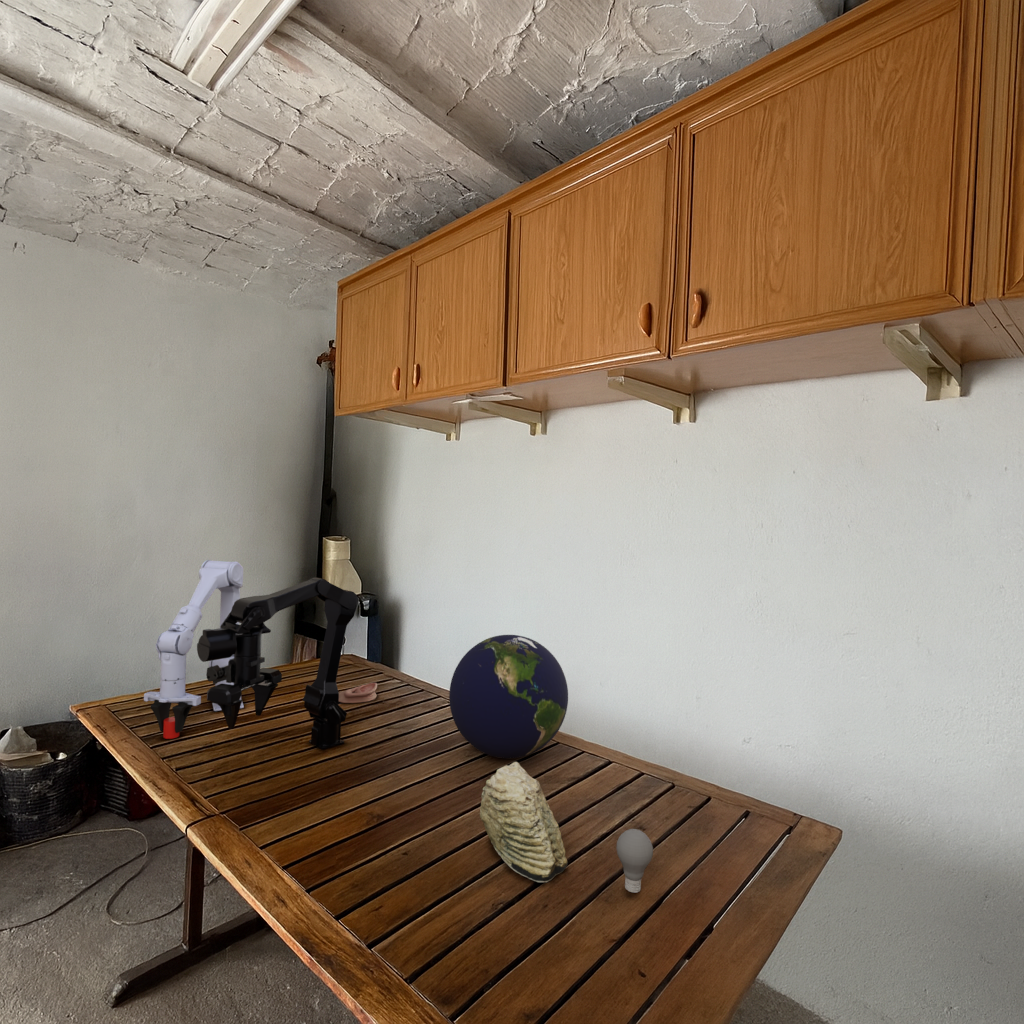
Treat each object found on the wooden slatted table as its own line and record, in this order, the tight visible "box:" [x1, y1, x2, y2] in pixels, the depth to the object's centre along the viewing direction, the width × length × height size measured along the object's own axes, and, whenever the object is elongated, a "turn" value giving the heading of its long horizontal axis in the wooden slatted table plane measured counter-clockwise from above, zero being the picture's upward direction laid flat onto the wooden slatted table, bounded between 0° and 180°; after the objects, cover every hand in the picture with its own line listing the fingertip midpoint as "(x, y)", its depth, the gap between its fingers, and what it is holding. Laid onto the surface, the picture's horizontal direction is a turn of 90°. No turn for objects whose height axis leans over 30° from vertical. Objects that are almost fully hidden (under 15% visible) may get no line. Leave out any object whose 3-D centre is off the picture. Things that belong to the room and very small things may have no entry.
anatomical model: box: [339, 682, 378, 704], centre depth 199 cm, size 13×4×12 cm
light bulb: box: [615, 828, 654, 894], centre depth 106 cm, size 6×6×10 cm
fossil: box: [479, 761, 569, 883], centre depth 114 cm, size 9×18×15 cm, turn 46°
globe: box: [448, 634, 569, 760], centre depth 160 cm, size 30×30×30 cm
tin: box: [162, 716, 181, 740], centre depth 162 cm, size 4×4×4 cm
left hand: (171, 730), depth 162 cm, fingers closed on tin, 4 cm apart
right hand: (245, 721), depth 145 cm, fingers open, 9 cm apart
